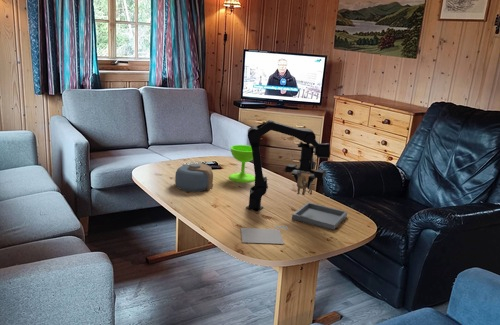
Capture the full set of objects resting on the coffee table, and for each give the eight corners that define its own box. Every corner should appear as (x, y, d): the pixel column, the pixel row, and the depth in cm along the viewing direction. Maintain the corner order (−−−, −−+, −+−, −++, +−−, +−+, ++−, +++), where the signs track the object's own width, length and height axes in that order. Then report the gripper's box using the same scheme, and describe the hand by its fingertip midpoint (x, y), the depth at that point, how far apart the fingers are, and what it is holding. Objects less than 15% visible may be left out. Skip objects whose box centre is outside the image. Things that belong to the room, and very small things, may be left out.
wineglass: (225, 174, 264) (227, 144, 259) (251, 174, 269) (253, 145, 264) (232, 183, 249) (234, 151, 244) (259, 182, 254) (262, 151, 249)
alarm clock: (217, 191, 234) (218, 169, 231) (179, 193, 227) (180, 170, 223) (206, 180, 251) (208, 159, 248) (171, 181, 244) (172, 160, 241)
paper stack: (239, 220, 199) (239, 219, 199) (294, 222, 201) (294, 221, 201) (242, 243, 177) (242, 242, 176) (304, 246, 179) (304, 244, 179)
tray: (333, 230, 196) (334, 225, 195) (291, 219, 204) (292, 214, 204) (346, 216, 213) (347, 211, 212) (307, 206, 222) (308, 202, 221)
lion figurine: (304, 196, 204) (306, 176, 204) (293, 194, 206) (295, 175, 206) (313, 194, 217) (315, 176, 217) (303, 193, 219) (304, 175, 219)
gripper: (331, 156, 210) (327, 187, 214) (294, 150, 218) (291, 180, 222) (323, 161, 200) (320, 194, 205) (285, 154, 208) (283, 186, 212)
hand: (303, 188), depth 211 cm, fingers closed on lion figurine, 4 cm apart
